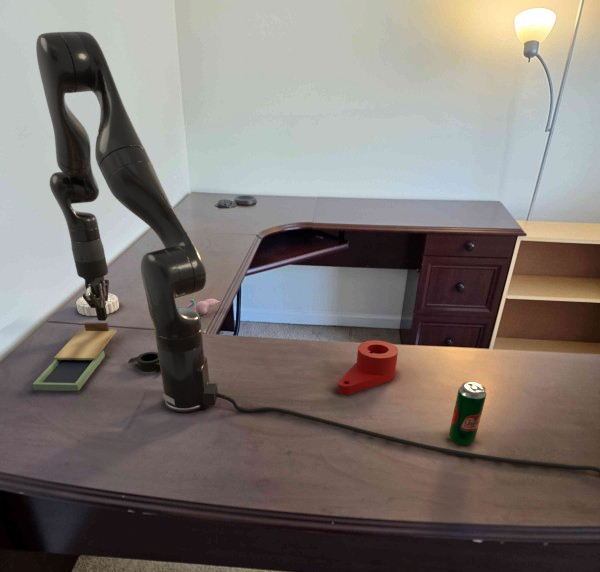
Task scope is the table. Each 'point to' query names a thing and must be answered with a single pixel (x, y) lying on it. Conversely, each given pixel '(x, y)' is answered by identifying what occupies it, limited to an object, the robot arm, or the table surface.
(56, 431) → the table surface
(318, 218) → the table surface
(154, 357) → the black wing nut
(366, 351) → the lever
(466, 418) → the soda can
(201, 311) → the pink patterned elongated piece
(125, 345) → the table surface
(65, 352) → the slide lid
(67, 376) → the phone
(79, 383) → the sliding lid box
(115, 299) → the mooncake
